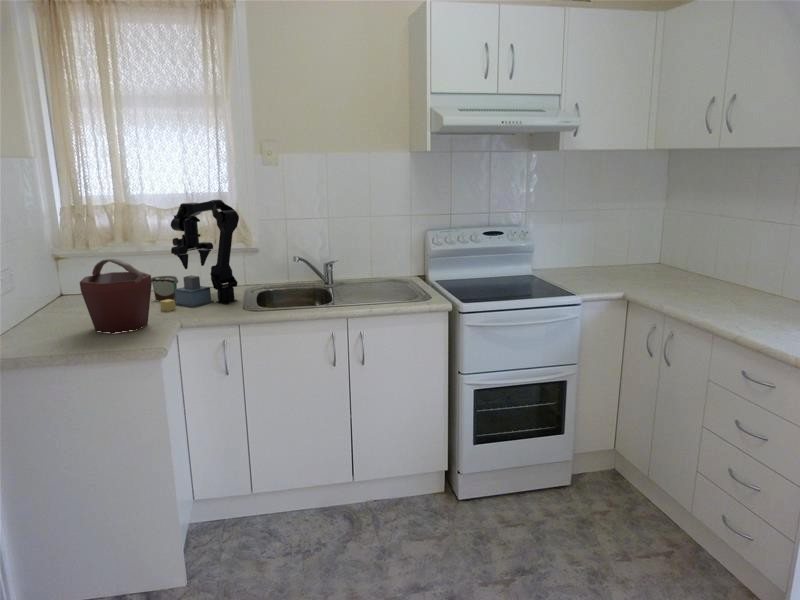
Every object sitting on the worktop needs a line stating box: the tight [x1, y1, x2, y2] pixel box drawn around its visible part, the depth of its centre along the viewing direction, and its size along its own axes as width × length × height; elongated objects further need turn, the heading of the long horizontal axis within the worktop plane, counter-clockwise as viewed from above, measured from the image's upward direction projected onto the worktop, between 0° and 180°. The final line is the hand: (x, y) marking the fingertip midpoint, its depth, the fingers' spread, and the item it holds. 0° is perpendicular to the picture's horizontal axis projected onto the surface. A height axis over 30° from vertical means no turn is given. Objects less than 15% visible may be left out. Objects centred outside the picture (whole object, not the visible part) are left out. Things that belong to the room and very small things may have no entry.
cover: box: [175, 274, 212, 306], centre depth 242 cm, size 10×10×11 cm
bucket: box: [79, 258, 153, 333], centre depth 205 cm, size 24×22×25 cm
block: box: [159, 299, 177, 313], centre depth 232 cm, size 4×4×4 cm
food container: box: [151, 275, 179, 302], centre depth 250 cm, size 12×6×10 cm, turn 74°
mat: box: [175, 299, 215, 309], centre depth 244 cm, size 12×12×1 cm
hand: (194, 267), depth 253 cm, fingers open, 9 cm apart
